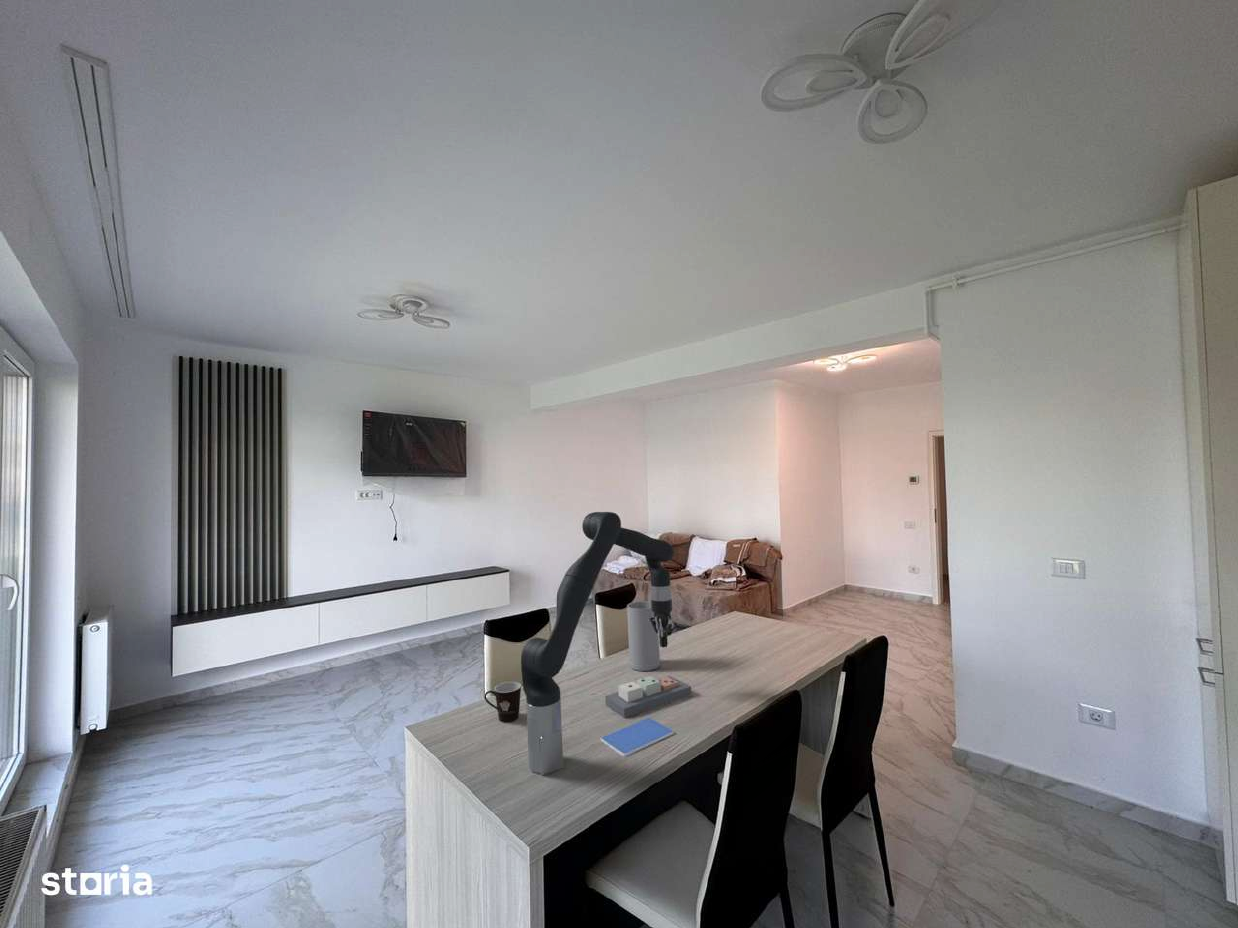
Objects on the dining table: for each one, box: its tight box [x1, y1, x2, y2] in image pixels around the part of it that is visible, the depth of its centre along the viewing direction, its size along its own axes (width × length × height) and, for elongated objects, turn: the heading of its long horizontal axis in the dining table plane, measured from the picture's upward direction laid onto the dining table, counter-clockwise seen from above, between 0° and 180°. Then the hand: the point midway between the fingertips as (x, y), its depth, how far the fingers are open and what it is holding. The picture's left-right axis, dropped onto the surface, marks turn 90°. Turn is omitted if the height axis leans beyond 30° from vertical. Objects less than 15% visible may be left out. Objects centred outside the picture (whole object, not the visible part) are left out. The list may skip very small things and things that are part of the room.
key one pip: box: [617, 681, 643, 702], centre depth 164 cm, size 6×6×4 cm
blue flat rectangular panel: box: [599, 717, 675, 758], centre depth 144 cm, size 19×13×1 cm, turn 126°
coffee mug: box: [484, 681, 522, 724], centre depth 160 cm, size 12×9×10 cm
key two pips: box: [635, 675, 661, 696], centre depth 168 cm, size 6×6×4 cm
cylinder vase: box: [626, 601, 661, 672], centre depth 200 cm, size 12×12×25 cm
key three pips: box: [657, 676, 678, 691], centre depth 172 cm, size 6×6×4 cm
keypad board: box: [604, 675, 692, 719], centre depth 168 cm, size 12×28×3 cm, turn 122°
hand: (663, 646), depth 173 cm, fingers closed
